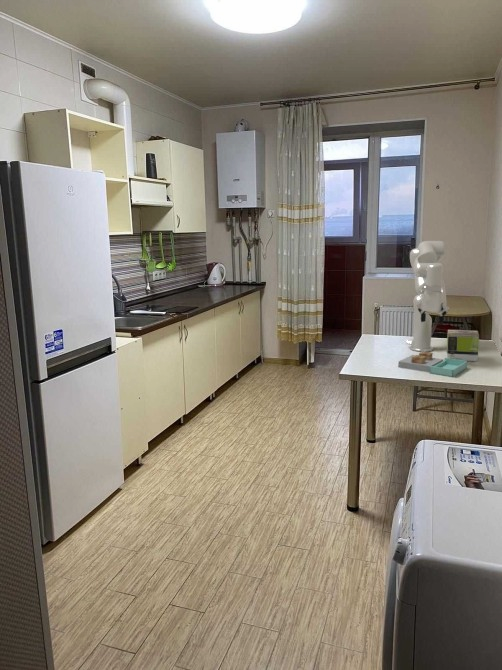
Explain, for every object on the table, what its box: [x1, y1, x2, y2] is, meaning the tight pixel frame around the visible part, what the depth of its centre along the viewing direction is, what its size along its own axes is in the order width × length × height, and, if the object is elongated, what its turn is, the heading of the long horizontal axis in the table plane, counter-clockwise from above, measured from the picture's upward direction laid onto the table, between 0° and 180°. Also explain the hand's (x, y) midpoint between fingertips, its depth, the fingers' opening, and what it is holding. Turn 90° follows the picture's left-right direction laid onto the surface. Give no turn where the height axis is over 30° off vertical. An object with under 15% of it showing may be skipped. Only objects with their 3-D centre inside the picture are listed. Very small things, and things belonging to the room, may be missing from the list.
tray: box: [429, 357, 469, 378], centre depth 250 cm, size 11×20×4 cm, turn 140°
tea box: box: [446, 329, 480, 362], centre depth 271 cm, size 15×10×15 cm
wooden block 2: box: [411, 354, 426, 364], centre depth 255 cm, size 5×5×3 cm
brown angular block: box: [418, 351, 433, 360], centre depth 261 cm, size 5×5×3 cm
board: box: [398, 354, 444, 373], centre depth 259 cm, size 16×17×3 cm
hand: (431, 322), depth 262 cm, fingers open, 9 cm apart
